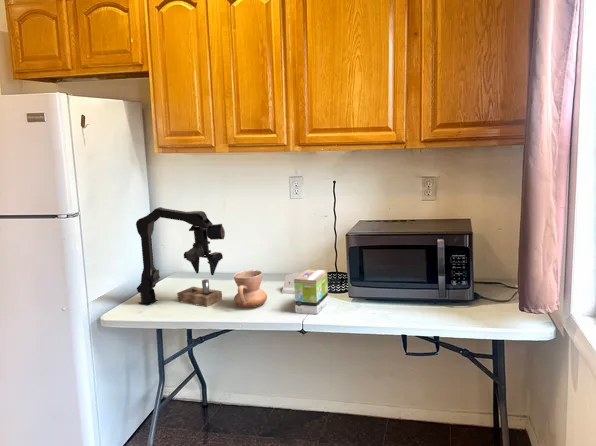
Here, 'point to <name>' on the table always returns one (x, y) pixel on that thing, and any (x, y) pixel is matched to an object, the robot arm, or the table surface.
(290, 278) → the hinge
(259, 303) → the ceramic jug
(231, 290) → the table surface
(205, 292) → the peg
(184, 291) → the hole block
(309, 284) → the tea box
